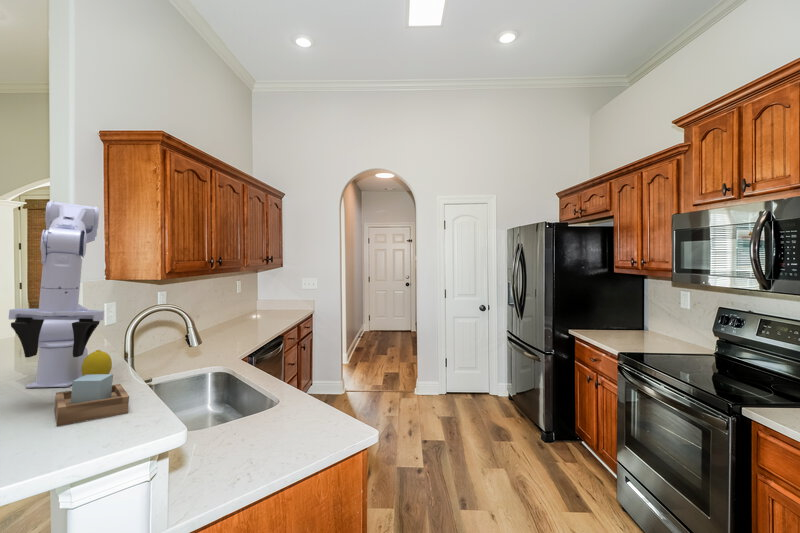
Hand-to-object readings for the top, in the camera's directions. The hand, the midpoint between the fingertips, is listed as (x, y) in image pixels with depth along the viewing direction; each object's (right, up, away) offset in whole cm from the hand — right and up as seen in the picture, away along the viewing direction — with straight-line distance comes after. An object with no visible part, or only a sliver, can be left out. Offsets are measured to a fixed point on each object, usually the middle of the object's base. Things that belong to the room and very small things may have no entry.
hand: (54, 356), depth 71 cm
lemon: (-4, -10, +14) cm, 18 cm away
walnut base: (+9, -10, -2) cm, 14 cm away
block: (+9, -8, -2) cm, 12 cm away
